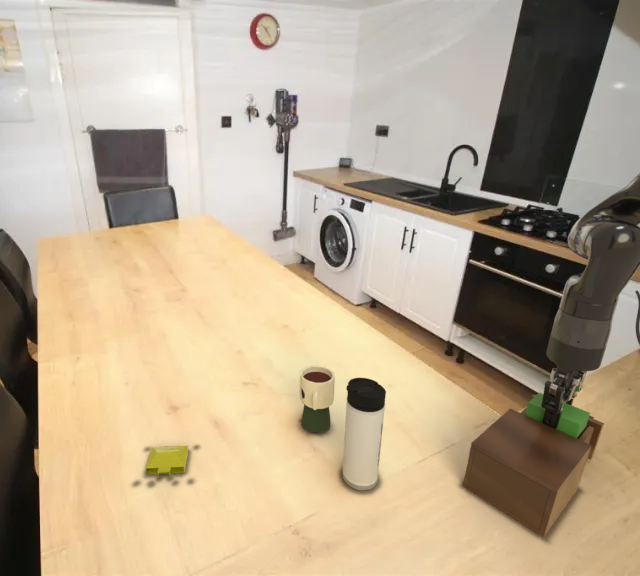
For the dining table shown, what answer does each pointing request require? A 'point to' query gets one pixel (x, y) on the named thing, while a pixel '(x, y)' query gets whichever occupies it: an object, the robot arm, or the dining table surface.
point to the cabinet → (526, 469)
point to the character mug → (316, 397)
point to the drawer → (587, 432)
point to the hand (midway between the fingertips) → (555, 419)
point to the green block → (570, 418)
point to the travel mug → (363, 433)
